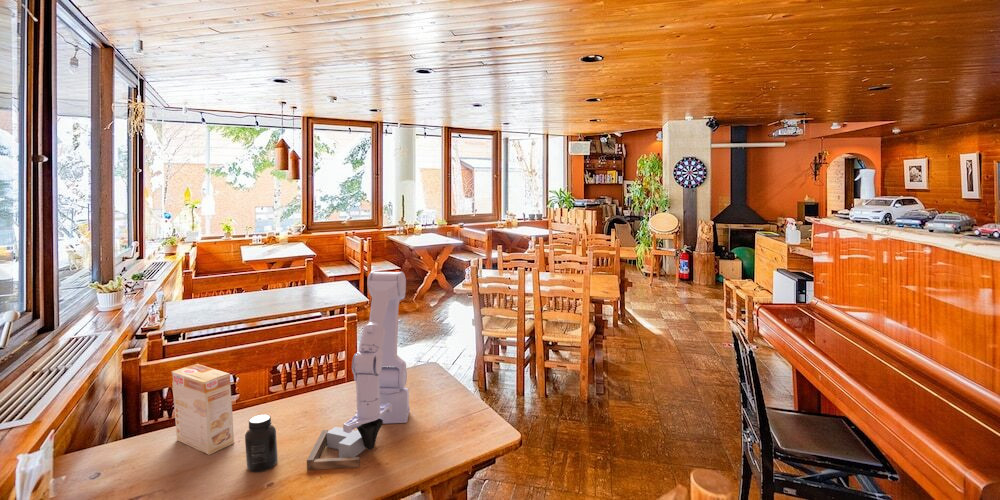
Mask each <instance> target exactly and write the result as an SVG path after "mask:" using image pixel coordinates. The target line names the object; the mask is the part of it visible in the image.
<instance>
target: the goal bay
mask: <svg viewBox="0 0 1000 500" xmlns="http://www.w3.org/2000/svg"><path fill="white" fill-rule="evenodd" d="M328 431H329V429H324V430H322V431H321V432H320V434H319V436H318V438H317V440H316V442H315V443H314V445H313V447H312V449H311V451H310V453H309V455H308V457H307V459H306V470H307V471H313V470H314V471H315V470H330V469H331V470H332V469H349V468H350V469H352V468H354V469H355V468H359V467H360V465H361V459H360V458H361V457H360V456H356V457H349V458H339V457H334V458H333V457H330V458H329V457H327V458H320V457H321V455H322V453H323V451H324V449H325V446H327V432H328Z"/></svg>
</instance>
